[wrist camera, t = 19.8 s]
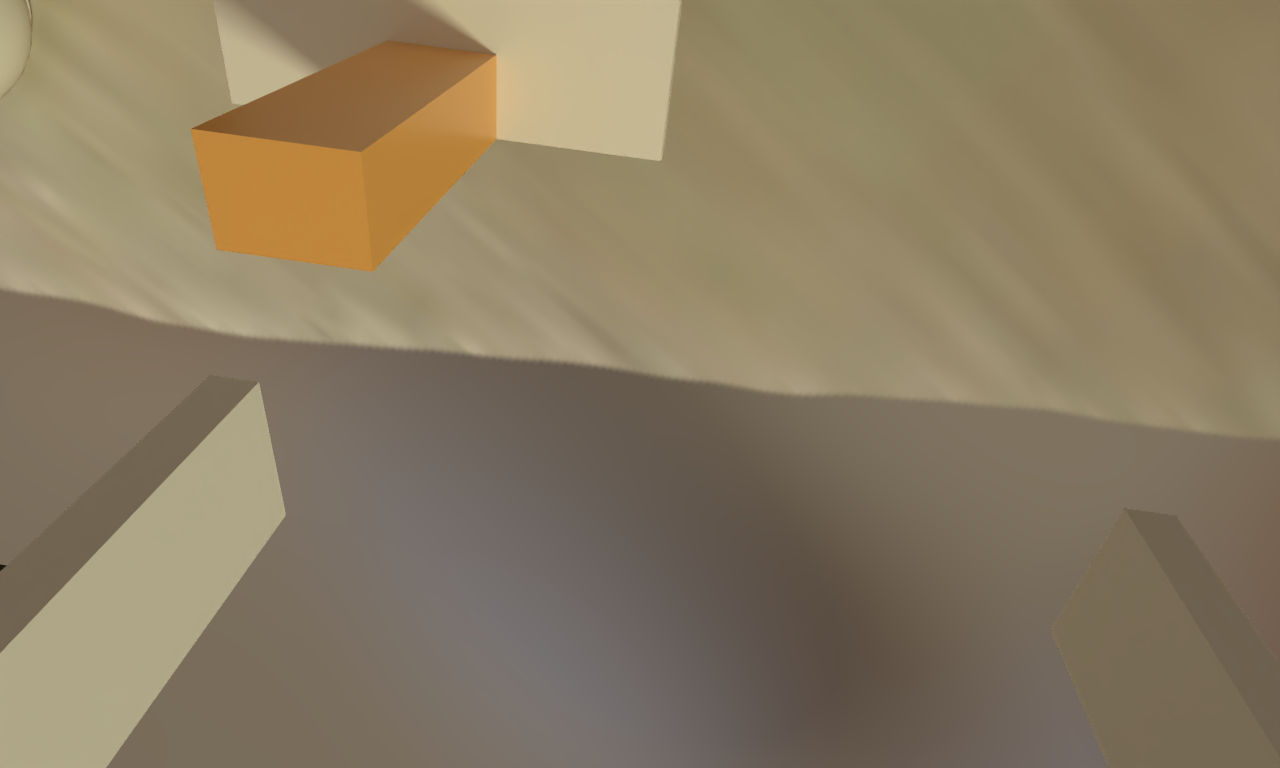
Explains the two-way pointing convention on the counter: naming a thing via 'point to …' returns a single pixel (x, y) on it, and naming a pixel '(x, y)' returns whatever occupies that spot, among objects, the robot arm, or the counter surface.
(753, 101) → the counter surface
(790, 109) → the counter surface
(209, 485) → the robot arm
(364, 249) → the lid
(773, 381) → the counter surface
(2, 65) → the lidded jar
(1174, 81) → the counter surface
